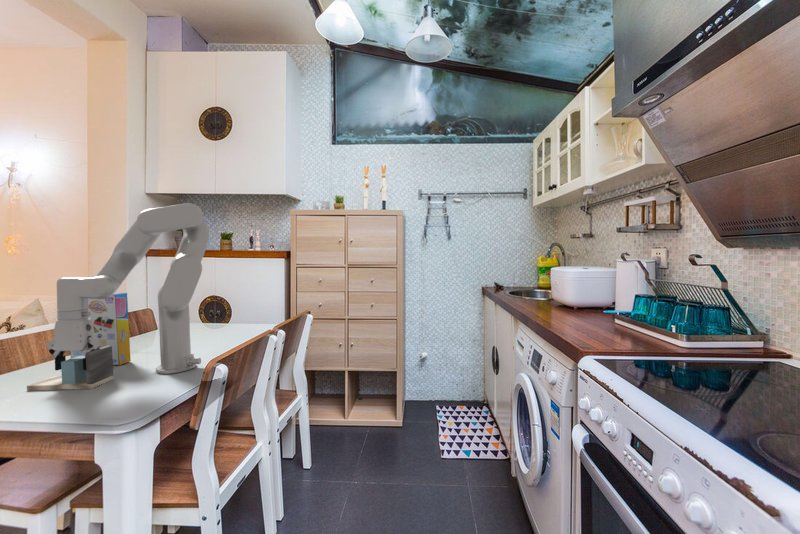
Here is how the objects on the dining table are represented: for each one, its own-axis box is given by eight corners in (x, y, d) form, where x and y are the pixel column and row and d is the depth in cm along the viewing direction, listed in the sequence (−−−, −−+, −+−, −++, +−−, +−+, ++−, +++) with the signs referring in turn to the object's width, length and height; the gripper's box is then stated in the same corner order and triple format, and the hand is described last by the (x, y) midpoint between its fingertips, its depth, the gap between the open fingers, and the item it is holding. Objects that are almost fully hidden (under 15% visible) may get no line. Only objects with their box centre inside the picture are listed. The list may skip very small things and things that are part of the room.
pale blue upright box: (92, 376, 125) (91, 355, 125) (75, 383, 118) (74, 361, 118) (80, 376, 125) (79, 355, 125) (62, 384, 118) (60, 362, 118)
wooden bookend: (113, 379, 127) (111, 345, 126) (92, 389, 118) (90, 352, 117) (52, 380, 126) (51, 346, 126) (26, 390, 117) (24, 354, 117)
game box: (131, 361, 147) (128, 292, 146) (119, 366, 142) (116, 294, 141) (83, 361, 150) (79, 292, 148) (69, 365, 144) (66, 294, 143)
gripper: (109, 313, 125) (110, 365, 125) (56, 313, 125) (57, 365, 125) (90, 317, 117) (92, 372, 118) (34, 317, 117) (36, 372, 118)
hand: (74, 369), depth 122 cm, fingers open, 8 cm apart
